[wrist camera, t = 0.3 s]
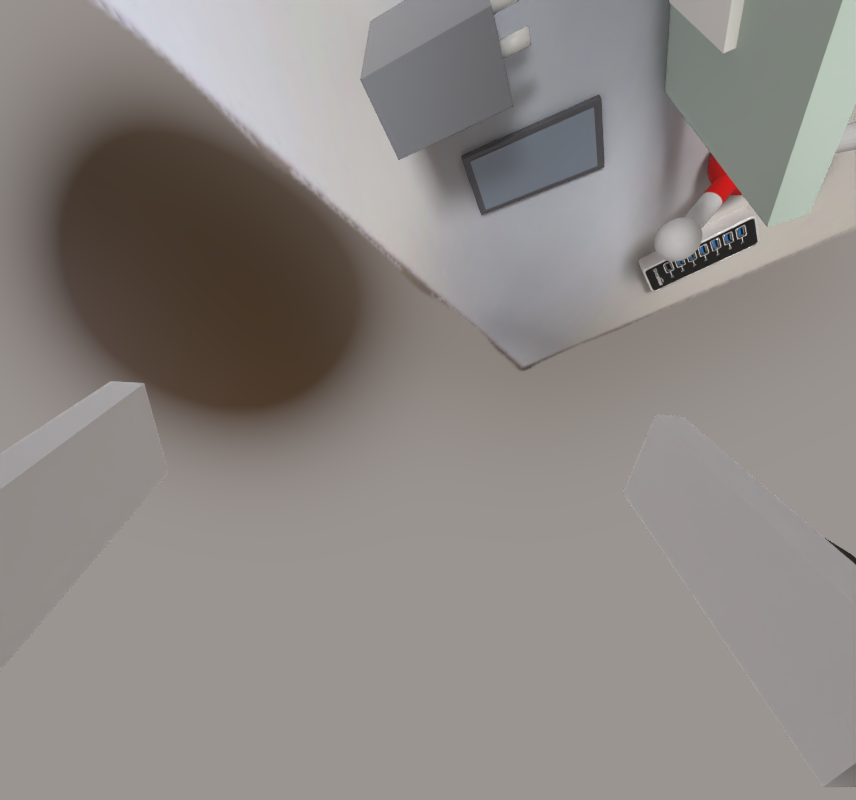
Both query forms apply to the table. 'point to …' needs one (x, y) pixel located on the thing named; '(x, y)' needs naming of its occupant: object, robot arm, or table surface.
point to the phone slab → (537, 156)
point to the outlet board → (766, 91)
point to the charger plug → (437, 68)
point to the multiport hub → (705, 249)
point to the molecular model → (712, 209)
